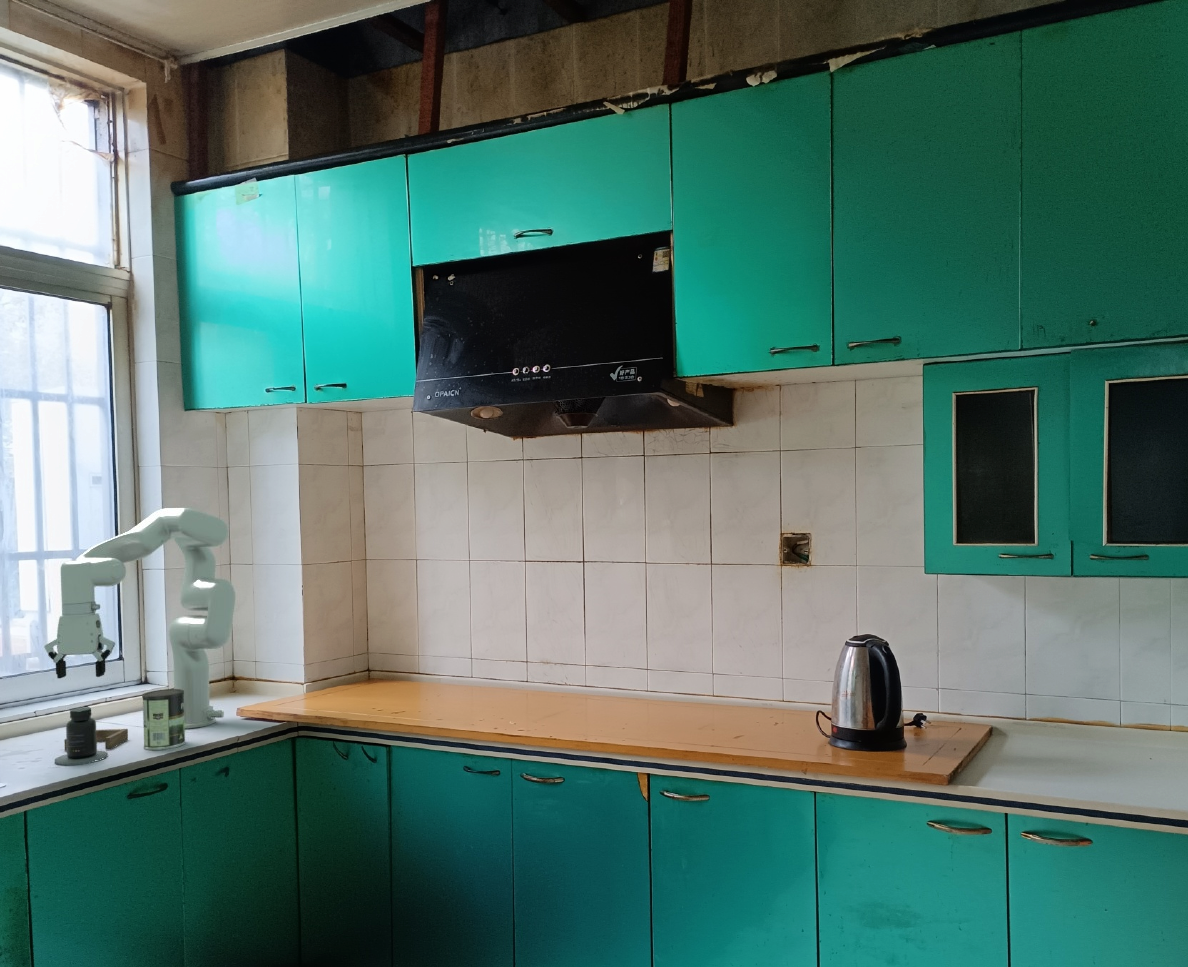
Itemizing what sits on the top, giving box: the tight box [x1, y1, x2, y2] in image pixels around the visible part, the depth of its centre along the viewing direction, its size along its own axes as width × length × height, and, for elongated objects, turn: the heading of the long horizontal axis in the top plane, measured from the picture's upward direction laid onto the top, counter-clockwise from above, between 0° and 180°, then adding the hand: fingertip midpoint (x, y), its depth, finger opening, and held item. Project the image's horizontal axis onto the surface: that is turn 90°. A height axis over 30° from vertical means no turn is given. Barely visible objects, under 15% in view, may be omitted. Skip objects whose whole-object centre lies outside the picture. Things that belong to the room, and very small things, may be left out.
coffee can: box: [141, 688, 186, 751], centre depth 266 cm, size 10×10×14 cm
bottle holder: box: [63, 728, 129, 752], centre depth 268 cm, size 12×11×3 cm
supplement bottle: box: [65, 706, 98, 760], centre depth 254 cm, size 7×7×12 cm
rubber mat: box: [54, 750, 109, 766], centre depth 253 cm, size 12×12×1 cm
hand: (81, 676), depth 254 cm, fingers open, 9 cm apart
